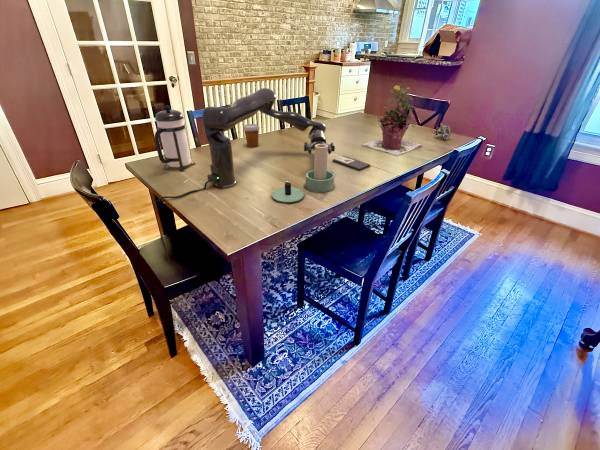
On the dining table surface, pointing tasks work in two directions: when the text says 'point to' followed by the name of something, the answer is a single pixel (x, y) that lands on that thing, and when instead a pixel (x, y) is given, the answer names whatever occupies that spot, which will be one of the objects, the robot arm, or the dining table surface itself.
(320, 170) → the light brown hollow cylinder
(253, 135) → the disposable coffee cup
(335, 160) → the chocolate bar
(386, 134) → the potted flower
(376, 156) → the dining table surface
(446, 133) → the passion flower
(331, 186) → the pot
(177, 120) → the coffee press
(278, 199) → the lid
